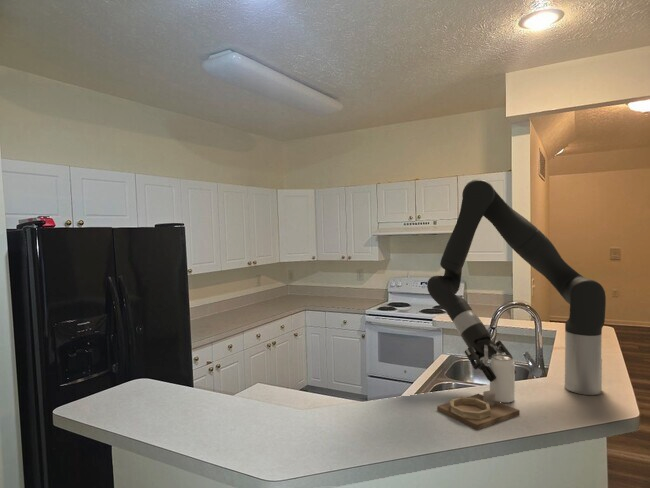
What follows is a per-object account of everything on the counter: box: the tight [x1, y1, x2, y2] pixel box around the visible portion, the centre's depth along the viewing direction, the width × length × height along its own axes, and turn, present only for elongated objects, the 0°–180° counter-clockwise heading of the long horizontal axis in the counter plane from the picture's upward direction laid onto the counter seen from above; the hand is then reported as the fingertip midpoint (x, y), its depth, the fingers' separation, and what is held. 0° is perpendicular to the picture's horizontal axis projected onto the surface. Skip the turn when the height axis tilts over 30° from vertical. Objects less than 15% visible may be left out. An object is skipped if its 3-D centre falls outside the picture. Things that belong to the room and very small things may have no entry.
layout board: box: [436, 390, 520, 431], centre depth 111 cm, size 16×13×4 cm
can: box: [489, 353, 516, 404], centre depth 120 cm, size 6×6×12 cm
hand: (503, 377), depth 119 cm, fingers open, 8 cm apart
